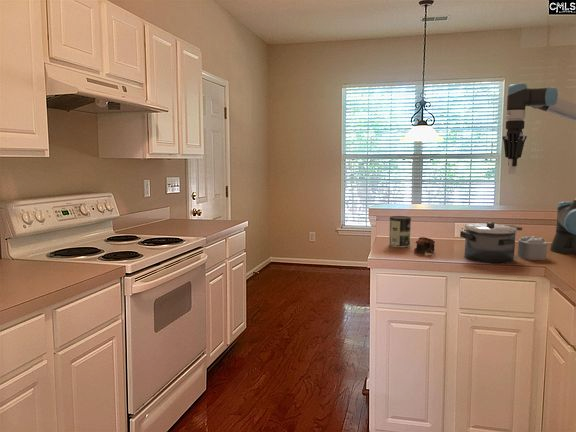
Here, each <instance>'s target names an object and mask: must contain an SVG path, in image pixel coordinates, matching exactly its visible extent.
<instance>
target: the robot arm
mask: <svg viewBox="0 0 576 432" xmlns="http://www.w3.org/2000/svg"><path fill="white" fill-rule="evenodd" d="M507 88H508V89H507V96H506V97H507V99H506V117H505V119H506V121H505V130H507V131H506V135H504V136H502V141H503V146H504V147H503V148H504V156H505V158H507V159H508V164H507V165H508V169H507V170H508V171H507V172H508V175H514V174H515V175H516V174H517V166H518V159H520V158H521V157H522V154H523V151H524V147H525V142H526V140H527V137H528V136H527V135H524V134H523V129H525V121H524V120H525V119H526V107H531V108H533V109H534V110H535V109H536V110H537V109H538V110H540V111H543V112H546V113H550V114H552V115H554V116H558V117H559V118H562V119H565V120H567V121H570V122H573V123H576V102H573V101H570V100H567V99H565V98H562V97H559V94H558V93H559V92H558V91H559V90H558V88H557V87H550V86H547V87H539V88H538V87H537V88H535V87H534V88H530V87H529V88H528V85H527V84H526V83H514V84H512V83H511V84H510V85H508V87H507ZM556 213H557V214H556V226H555V234H554V237H553V239H552V242H551V243H550V248H549V249H550V251H552V252H556V253H560V254H568V255H576V198H574V199H573V200H572V201H559V202H558V204H557V212H556Z"/></svg>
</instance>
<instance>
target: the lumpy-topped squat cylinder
mask: <svg viewBox="0 0 576 432" xmlns="http://www.w3.org/2000/svg"><path fill="white" fill-rule="evenodd" d="M517 246H518V247H517V257H519V258H521V259H523V260H529V261H530V260H535V261H539V260H540V261H544V260H545V261H546V260H547V254H548V251H547V250H548V242H547V241H545V238H543V237H539V238H537V237H536V235H535V236H534V235H533V236H530V237H529V236H527V235H525V236H524V237H523V236H522V237H520V238H519V239H518V245H517Z"/></svg>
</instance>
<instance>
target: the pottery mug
mask: <svg viewBox="0 0 576 432" xmlns="http://www.w3.org/2000/svg"><path fill="white" fill-rule="evenodd" d="M415 244H416V247H415V248H413V254H419V255H424V256H425V254H426V253H427V254H431V253H434V252H435V246H436V245H435V240H433V239H432V238H429V237H424V236H423V237H422V236H419V237H418V239H417V240H416V241H415Z"/></svg>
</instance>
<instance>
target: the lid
mask: <svg viewBox="0 0 576 432" xmlns="http://www.w3.org/2000/svg"><path fill="white" fill-rule="evenodd" d="M466 230H467V231H470V232H475V233H482V234H497V235H504V234H514V233H518V231H523V227H522V226H517V225H513V224H498V223H495V222H489V221H488V222H486V223H480V222H479V223H469V224H466V225H464V231H466Z"/></svg>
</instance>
